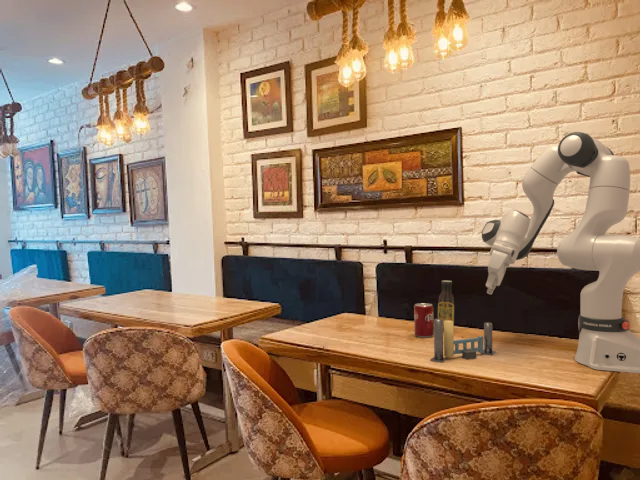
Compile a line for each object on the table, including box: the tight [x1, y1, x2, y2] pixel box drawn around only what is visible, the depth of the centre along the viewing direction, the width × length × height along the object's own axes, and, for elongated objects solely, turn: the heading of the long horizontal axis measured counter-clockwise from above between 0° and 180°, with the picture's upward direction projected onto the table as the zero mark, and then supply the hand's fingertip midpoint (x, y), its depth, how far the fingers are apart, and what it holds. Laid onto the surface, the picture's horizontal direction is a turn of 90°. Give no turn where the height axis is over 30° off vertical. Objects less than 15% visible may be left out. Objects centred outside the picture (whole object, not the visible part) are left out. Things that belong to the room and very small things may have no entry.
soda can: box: [413, 302, 435, 339], centre depth 196 cm, size 7×7×12 cm
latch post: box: [430, 318, 448, 363], centre depth 164 cm, size 4×4×13 cm
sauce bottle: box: [437, 280, 455, 333], centre depth 203 cm, size 7×6×20 cm
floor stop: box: [461, 350, 477, 361], centre depth 165 cm, size 4×2×2 cm, turn 110°
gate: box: [443, 320, 484, 358], centre depth 167 cm, size 14×3×11 cm, turn 108°
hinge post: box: [479, 321, 497, 356], centre depth 170 cm, size 4×4×10 cm
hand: (488, 290), depth 175 cm, fingers open, 8 cm apart
